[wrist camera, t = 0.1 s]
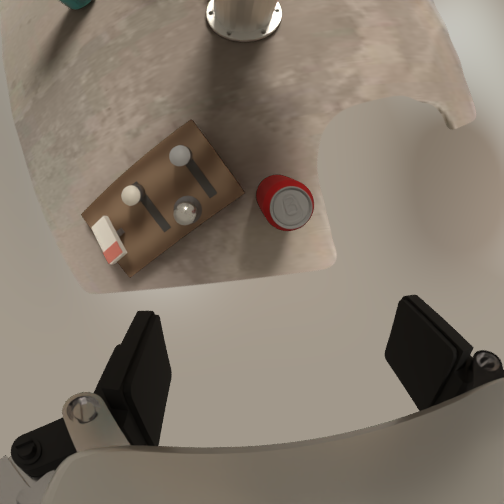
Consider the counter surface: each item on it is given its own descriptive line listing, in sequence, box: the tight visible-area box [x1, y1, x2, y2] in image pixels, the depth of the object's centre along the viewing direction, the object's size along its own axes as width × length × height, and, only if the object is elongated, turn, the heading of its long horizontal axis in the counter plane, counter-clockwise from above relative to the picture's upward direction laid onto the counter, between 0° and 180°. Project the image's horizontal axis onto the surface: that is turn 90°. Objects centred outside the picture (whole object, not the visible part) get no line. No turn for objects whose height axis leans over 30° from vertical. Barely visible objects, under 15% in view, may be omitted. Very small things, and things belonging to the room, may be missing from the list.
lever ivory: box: [121, 184, 145, 206], centre depth 38 cm, size 3×3×4 cm
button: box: [174, 201, 197, 225], centre depth 40 cm, size 3×3×2 cm
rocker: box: [91, 216, 127, 265], centre depth 40 cm, size 7×3×1 cm, turn 34°
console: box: [81, 120, 245, 278], centre depth 42 cm, size 14×24×5 cm, turn 124°
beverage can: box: [256, 175, 314, 231], centre depth 40 cm, size 7×7×12 cm
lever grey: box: [169, 145, 193, 166], centre depth 37 cm, size 3×3×4 cm
